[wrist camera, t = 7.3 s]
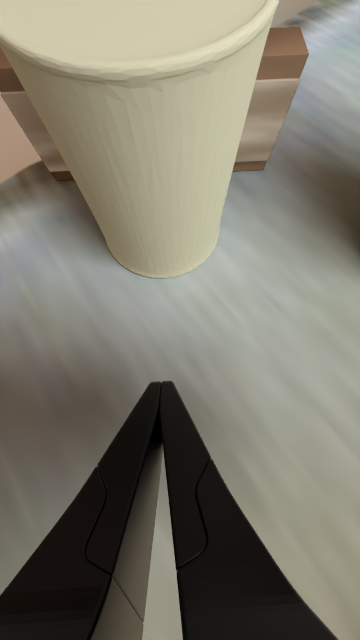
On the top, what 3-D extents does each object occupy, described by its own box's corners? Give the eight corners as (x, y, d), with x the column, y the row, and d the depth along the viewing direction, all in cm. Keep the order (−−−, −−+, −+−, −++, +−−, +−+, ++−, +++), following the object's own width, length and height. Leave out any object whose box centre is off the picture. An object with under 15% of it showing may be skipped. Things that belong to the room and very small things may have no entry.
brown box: (263, 171, 19) (309, 56, 12) (56, 182, 19) (-15, 71, 12) (258, 147, 20) (299, 26, 13) (59, 158, 19) (-7, 40, 13)
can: (159, 164, 19) (125, -161, 8) (242, 222, 18) (360, -78, 6) (81, 231, 17) (-116, -58, 6) (165, 302, 16) (124, 98, 4)
